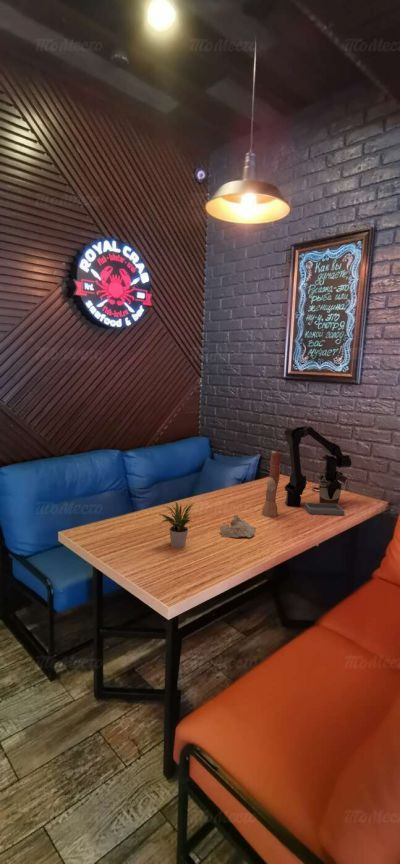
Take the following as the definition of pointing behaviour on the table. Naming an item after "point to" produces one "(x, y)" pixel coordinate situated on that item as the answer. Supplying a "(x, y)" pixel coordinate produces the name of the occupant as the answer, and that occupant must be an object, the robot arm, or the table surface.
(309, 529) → the table surface
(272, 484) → the tall figurine
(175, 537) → the house plant
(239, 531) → the coral
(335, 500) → the food container
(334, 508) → the grey tray
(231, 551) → the table surface
